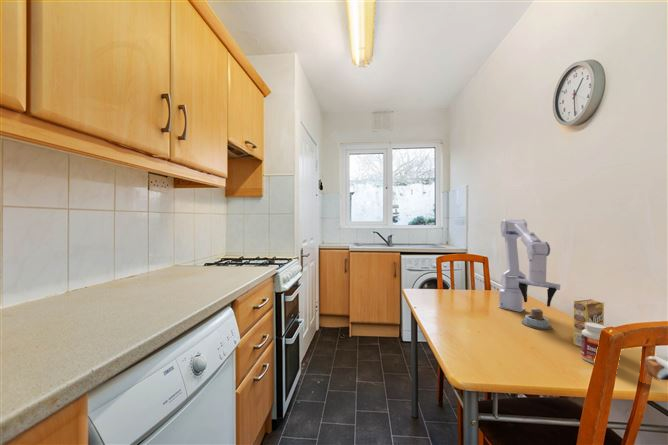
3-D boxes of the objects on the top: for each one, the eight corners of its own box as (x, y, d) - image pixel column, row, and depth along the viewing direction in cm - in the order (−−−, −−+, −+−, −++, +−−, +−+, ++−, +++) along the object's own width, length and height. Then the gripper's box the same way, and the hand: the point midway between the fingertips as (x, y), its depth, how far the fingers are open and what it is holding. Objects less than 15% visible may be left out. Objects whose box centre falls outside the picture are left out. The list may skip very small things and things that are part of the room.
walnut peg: (529, 323, 112) (529, 309, 112) (531, 321, 114) (532, 307, 114) (541, 326, 109) (541, 311, 109) (543, 324, 111) (544, 309, 111)
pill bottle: (585, 363, 82) (586, 326, 82) (577, 354, 87) (577, 320, 87) (613, 367, 79) (613, 330, 79) (602, 358, 85) (603, 323, 85)
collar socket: (519, 324, 112) (519, 317, 112) (524, 318, 119) (524, 312, 118) (549, 332, 104) (549, 324, 104) (553, 325, 111) (553, 318, 111)
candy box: (586, 349, 90) (587, 304, 90) (572, 344, 94) (573, 300, 94) (604, 346, 93) (605, 302, 93) (589, 341, 97) (590, 298, 97)
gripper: (514, 269, 114) (513, 301, 114) (558, 275, 103) (558, 310, 103) (518, 267, 119) (517, 298, 119) (561, 272, 108) (560, 306, 108)
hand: (536, 303), depth 111 cm, fingers open, 7 cm apart
